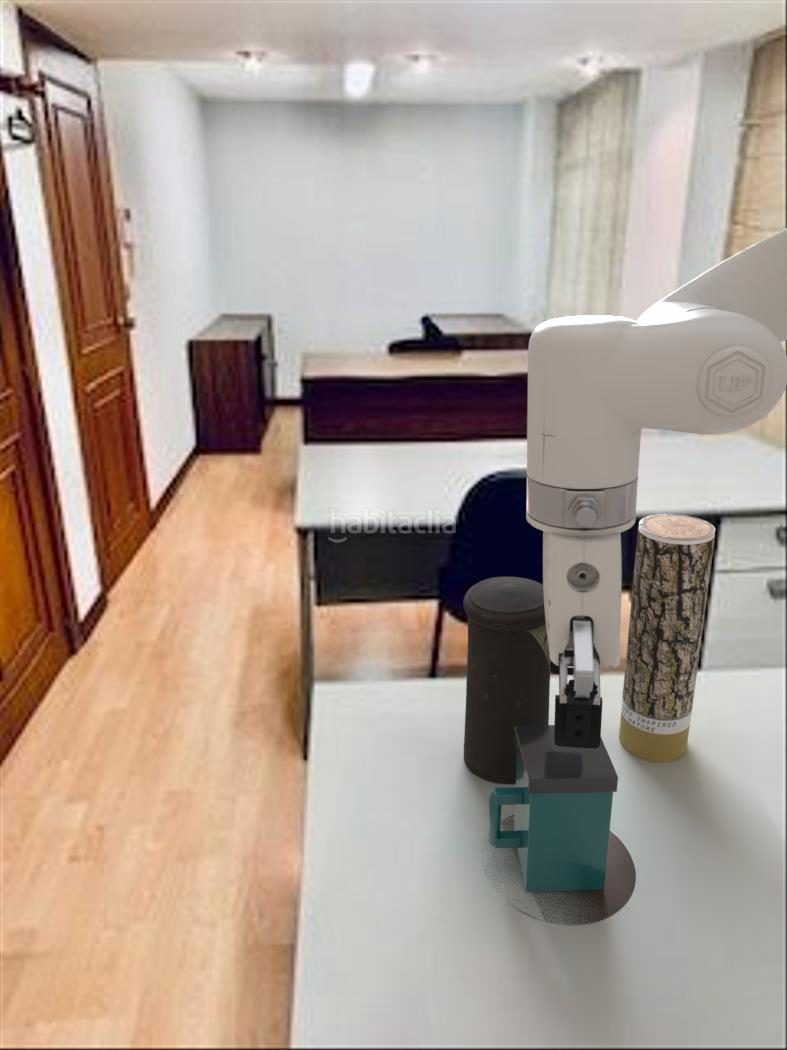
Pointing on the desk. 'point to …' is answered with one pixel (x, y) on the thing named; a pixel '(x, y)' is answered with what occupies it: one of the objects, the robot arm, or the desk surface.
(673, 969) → the desk surface
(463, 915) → the desk surface
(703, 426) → the robot arm
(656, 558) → the paper tube
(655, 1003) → the desk surface
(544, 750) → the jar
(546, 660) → the container
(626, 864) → the turntable
